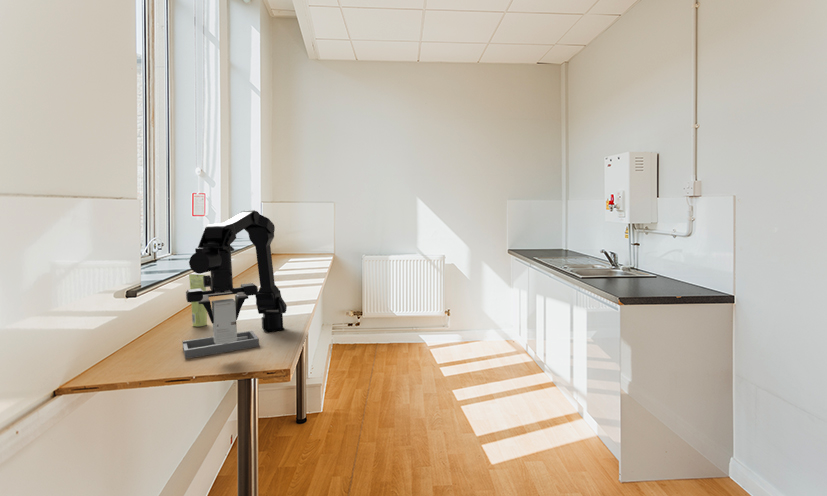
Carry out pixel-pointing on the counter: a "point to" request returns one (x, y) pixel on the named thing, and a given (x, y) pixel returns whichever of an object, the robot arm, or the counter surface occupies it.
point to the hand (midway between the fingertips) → (224, 321)
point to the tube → (197, 309)
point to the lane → (218, 345)
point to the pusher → (242, 338)
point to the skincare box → (224, 321)
